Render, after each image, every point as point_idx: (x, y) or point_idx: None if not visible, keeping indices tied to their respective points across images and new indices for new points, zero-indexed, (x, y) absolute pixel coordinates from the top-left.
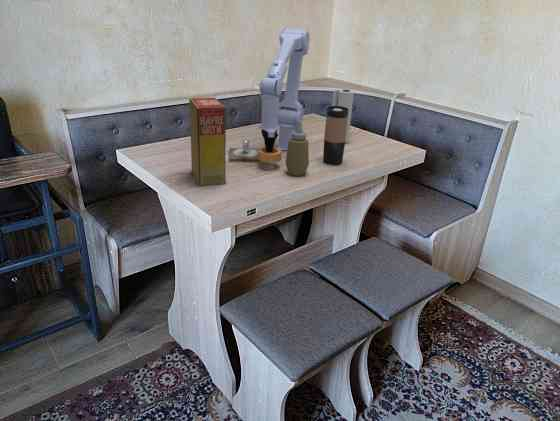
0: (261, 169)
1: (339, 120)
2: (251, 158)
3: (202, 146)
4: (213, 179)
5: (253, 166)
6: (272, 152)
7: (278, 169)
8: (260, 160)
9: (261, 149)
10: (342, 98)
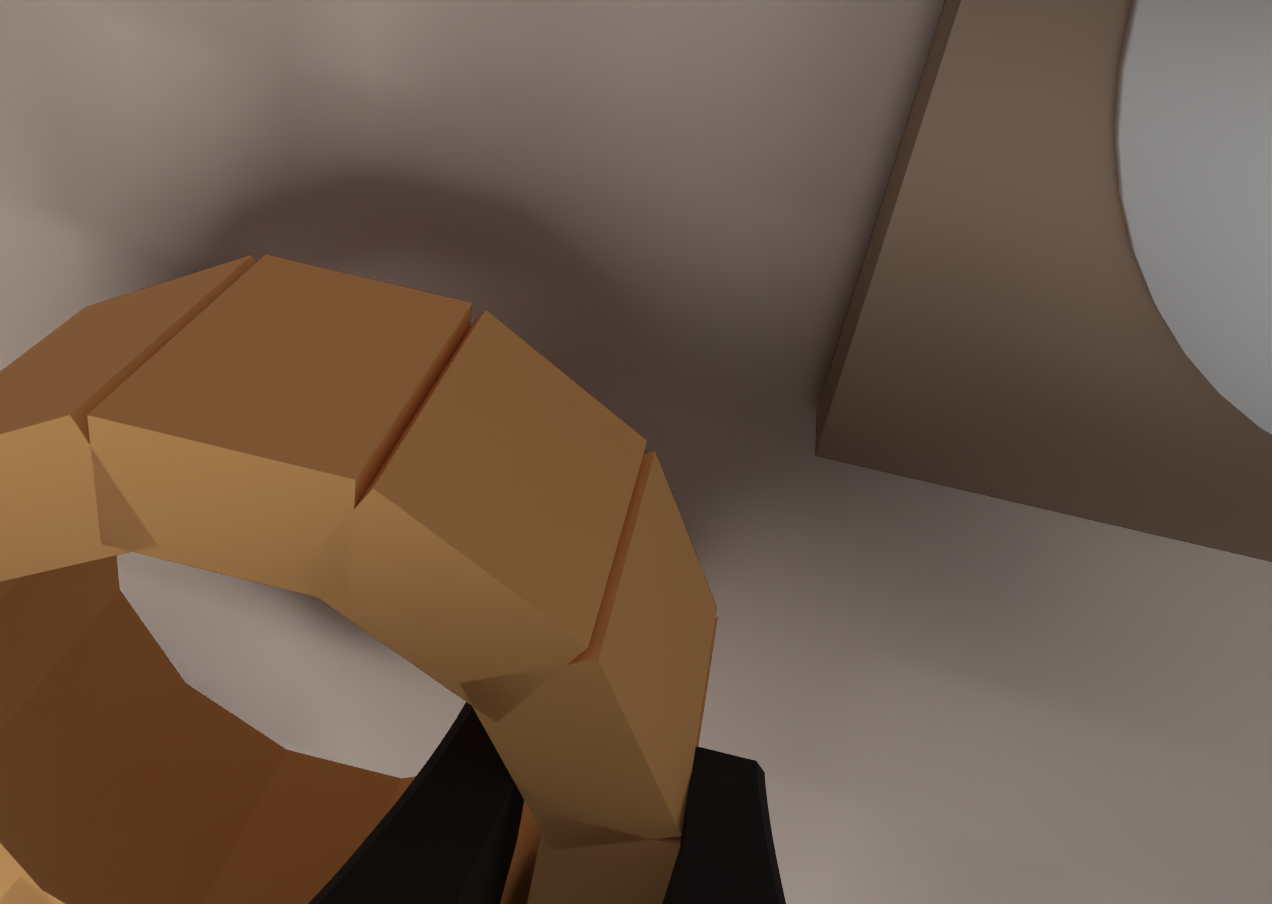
0: (219, 202)
1: None
2: (987, 122)
3: None
4: None
5: (470, 28)
6: (527, 822)
7: (233, 578)
8: (138, 294)
9: (380, 607)
10: None
